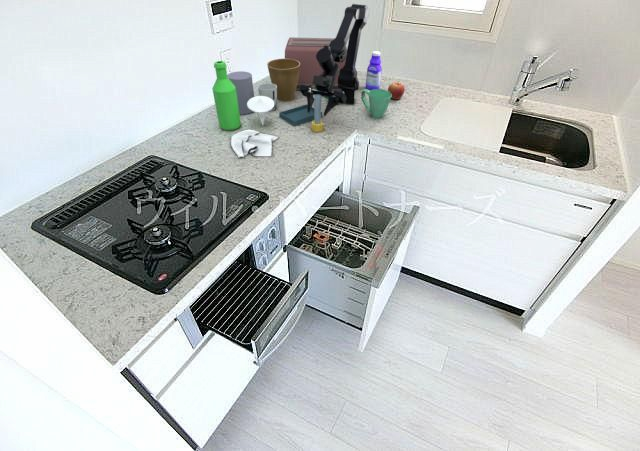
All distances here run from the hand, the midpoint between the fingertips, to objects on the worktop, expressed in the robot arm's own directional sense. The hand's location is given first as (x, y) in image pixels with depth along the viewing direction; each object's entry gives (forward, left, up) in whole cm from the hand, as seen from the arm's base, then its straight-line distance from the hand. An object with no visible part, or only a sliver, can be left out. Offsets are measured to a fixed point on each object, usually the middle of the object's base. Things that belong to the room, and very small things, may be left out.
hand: (316, 114), depth 133 cm
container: (+35, -16, -7) cm, 39 cm away
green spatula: (+1, -35, -7) cm, 36 cm away
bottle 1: (+36, +1, -7) cm, 36 cm away
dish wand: (0, -1, -7) cm, 7 cm away
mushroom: (+23, -2, -7) cm, 24 cm away
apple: (-34, -41, -7) cm, 54 cm away
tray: (+8, -12, -7) cm, 16 cm away
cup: (+24, -19, -7) cm, 31 cm away
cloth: (+23, +15, -7) cm, 28 cm away
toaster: (+6, -53, -7) cm, 54 cm away
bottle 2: (-23, -52, -7) cm, 57 cm away
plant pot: (+19, -32, -7) cm, 38 cm away
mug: (-23, -20, -7) cm, 32 cm away
